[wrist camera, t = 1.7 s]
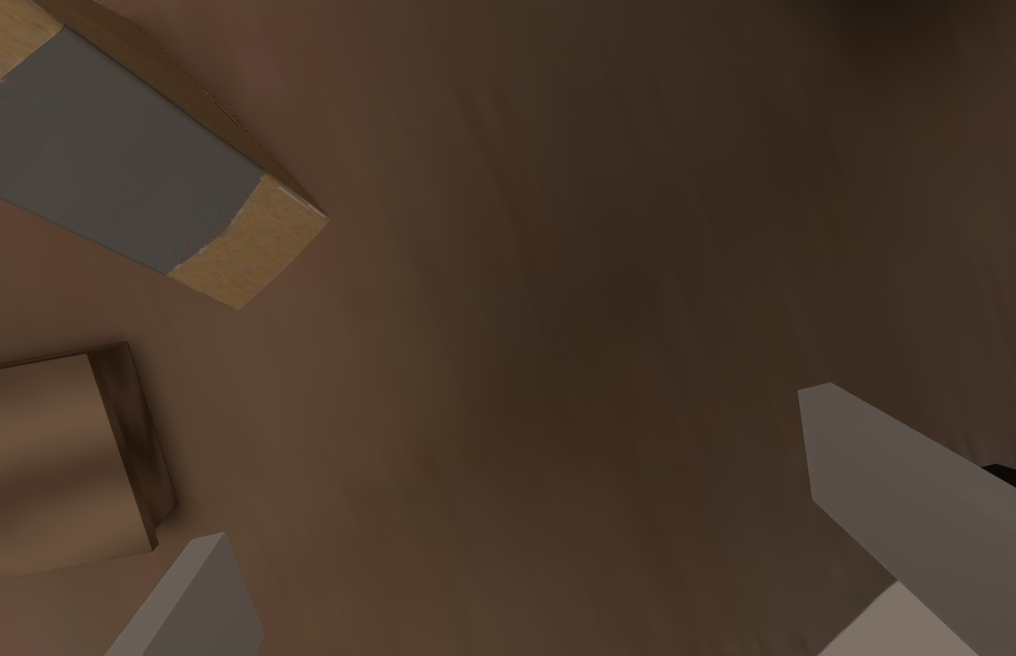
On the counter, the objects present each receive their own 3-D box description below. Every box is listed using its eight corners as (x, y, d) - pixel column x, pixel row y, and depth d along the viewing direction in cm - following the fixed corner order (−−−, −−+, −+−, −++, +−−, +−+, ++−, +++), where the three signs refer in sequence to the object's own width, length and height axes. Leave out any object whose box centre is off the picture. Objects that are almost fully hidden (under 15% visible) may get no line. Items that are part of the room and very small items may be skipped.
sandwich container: (238, 317, 40) (111, 395, 26) (30, 126, 37) (-249, 93, 23) (336, 219, 39) (262, 244, 25) (131, 15, 36) (-91, -93, 22)
